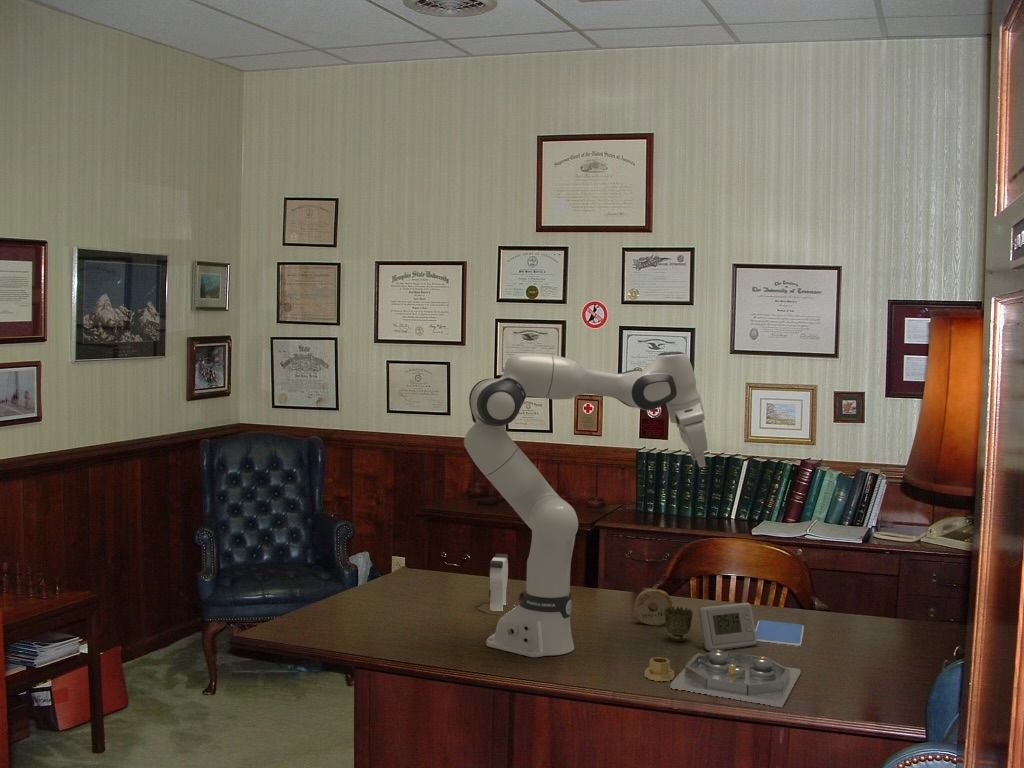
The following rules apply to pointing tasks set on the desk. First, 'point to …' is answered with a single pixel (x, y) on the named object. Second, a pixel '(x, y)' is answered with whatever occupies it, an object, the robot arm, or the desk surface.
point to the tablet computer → (779, 632)
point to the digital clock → (727, 626)
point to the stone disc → (646, 612)
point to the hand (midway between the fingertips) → (699, 463)
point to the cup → (678, 622)
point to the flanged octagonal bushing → (659, 670)
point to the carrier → (738, 677)
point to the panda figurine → (498, 581)
